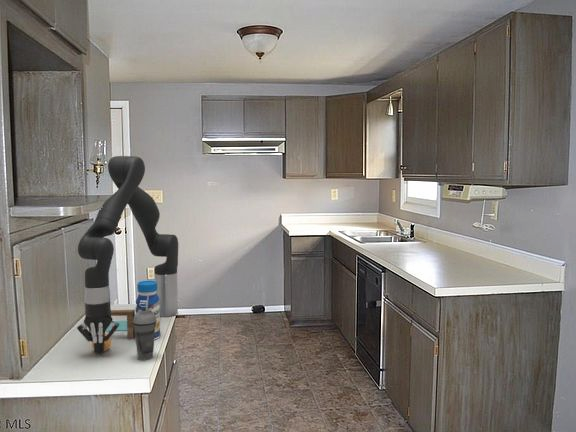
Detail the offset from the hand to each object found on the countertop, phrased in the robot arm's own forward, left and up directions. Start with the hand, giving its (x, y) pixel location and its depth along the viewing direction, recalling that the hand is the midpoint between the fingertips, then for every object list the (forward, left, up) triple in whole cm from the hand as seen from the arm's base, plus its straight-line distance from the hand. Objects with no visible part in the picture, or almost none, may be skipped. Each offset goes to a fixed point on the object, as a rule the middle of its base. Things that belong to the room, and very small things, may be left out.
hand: (99, 353), depth 153 cm
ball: (-4, -1, +2) cm, 5 cm away
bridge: (-17, -1, -1) cm, 17 cm away
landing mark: (-31, -1, -1) cm, 31 cm away
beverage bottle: (-16, +12, -1) cm, 20 cm away
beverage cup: (+3, +15, -1) cm, 15 cm away
